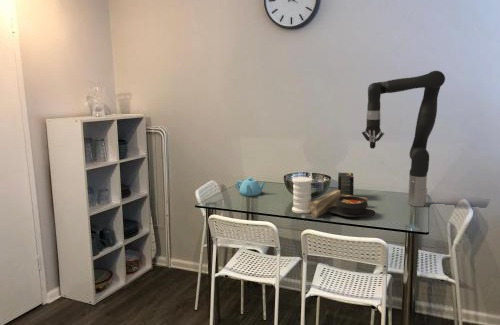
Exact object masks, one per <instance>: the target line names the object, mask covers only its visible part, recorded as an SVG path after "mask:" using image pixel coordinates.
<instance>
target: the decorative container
mask: <svg viewBox="0 0 500 325" xmlns="http://www.w3.org/2000/svg"><path fill="white" fill-rule="evenodd" d="M292 183H293V185H292V187H293V197H292V198H293V201H292V202H293V203H292V204H293V206H292V207H291V212H293V213H295V214H300V213H305V214H309V213H311V202H312V183H313V178H311V177H307V176H299V177H298V176H297V177H293V178H292Z"/></svg>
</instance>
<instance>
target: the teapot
mask: <svg viewBox="0 0 500 325" xmlns="http://www.w3.org/2000/svg"><path fill="white" fill-rule="evenodd" d="M266 183H267V181H266V180H265V181H263V182H262V183H261V185H260V183H259V181H258V180H257V179H253V177H247V179H244V180H237V181H236V183H235V187H234V188H235V189H236V190H238V192H239V194H240V195H241V196H243V197H256V196H259V195H260V194H261V192H262V191H263V189H264V186H265V184H266ZM240 184H241V185H240ZM239 185H240V186H239Z"/></svg>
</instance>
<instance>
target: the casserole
mask: <svg viewBox="0 0 500 325" xmlns="http://www.w3.org/2000/svg"><path fill="white" fill-rule="evenodd" d="M361 197H362V196H357V197H356V196H355V195H353V196H343V197H340V198H338V199H337V201H336V205H337V206H332V207H330V208H329V209H328V211H327V212H329V213H331V214H333V215H338V216H341V217H346V218H350V219H351V218H352V219H353V218H354V219H355V218H359V217H360V218H361V217H362V218H363V217H365V218H366V217H367V218H370V217H372V216H375V215H376V211H375V210H374V209H371V208H367V207H368V204H367V202H366V200H365V199H364V198H365V197H364V198H361ZM366 206H367V207H366Z"/></svg>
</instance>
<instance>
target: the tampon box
mask: <svg viewBox="0 0 500 325" xmlns="http://www.w3.org/2000/svg"><path fill="white" fill-rule="evenodd" d="M354 177H355V176H354V173H353V172H338V175H337V190H341V194H340V195H342V194H344V195H350V196H354V181H355V180H354Z"/></svg>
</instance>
